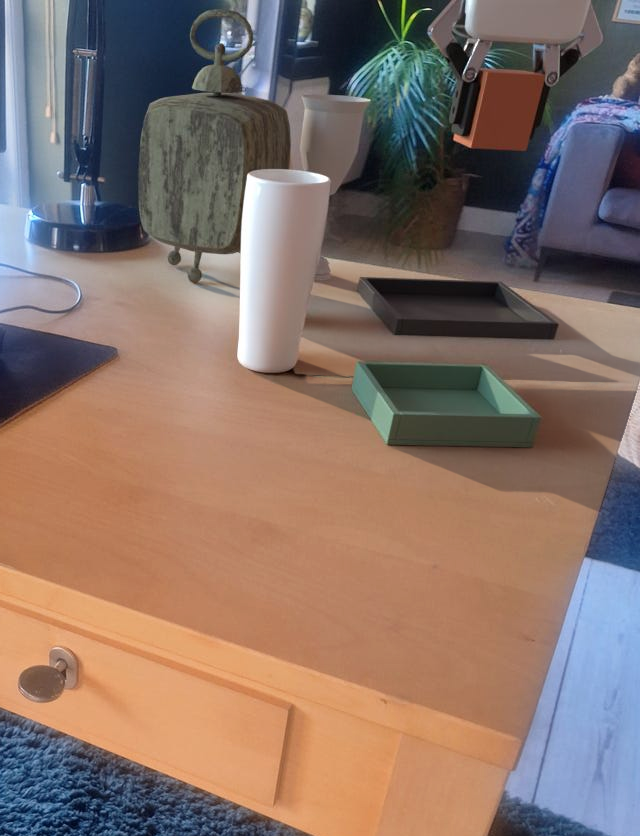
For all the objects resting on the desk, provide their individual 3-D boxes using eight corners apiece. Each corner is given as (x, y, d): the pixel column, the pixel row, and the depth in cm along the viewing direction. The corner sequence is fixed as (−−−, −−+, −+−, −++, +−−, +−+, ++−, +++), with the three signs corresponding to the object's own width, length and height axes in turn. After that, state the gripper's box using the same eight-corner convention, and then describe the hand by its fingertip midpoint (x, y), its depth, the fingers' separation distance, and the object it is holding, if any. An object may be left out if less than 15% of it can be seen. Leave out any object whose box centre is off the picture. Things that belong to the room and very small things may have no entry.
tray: (479, 392, 74) (487, 364, 73) (532, 447, 66) (542, 417, 64) (351, 389, 74) (356, 360, 72) (386, 445, 65) (393, 414, 63)
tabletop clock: (276, 282, 100) (308, 14, 85) (240, 299, 94) (268, 13, 79) (167, 260, 106) (180, 5, 91) (127, 275, 99) (133, 4, 84)
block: (505, 142, 80) (523, 70, 77) (526, 150, 76) (546, 74, 73) (452, 140, 80) (468, 67, 77) (470, 148, 76) (487, 72, 73)
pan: (496, 299, 99) (501, 281, 97) (553, 343, 86) (559, 323, 85) (356, 294, 97) (359, 276, 96) (393, 338, 85) (397, 318, 84)
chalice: (291, 286, 99) (315, 100, 88) (271, 270, 104) (291, 93, 93) (351, 285, 100) (382, 102, 90) (328, 270, 106) (355, 95, 95)
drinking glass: (261, 347, 81) (282, 166, 72) (320, 367, 78) (349, 179, 69) (212, 362, 77) (228, 172, 68) (271, 384, 74) (296, 187, 65)
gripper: (639, -124, 70) (566, 134, 81) (432, -138, 69) (386, 126, 80) (687, -134, 64) (602, 146, 75) (462, -149, 63) (408, 137, 74)
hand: (491, 133), depth 78 cm, fingers closed on block, 5 cm apart
